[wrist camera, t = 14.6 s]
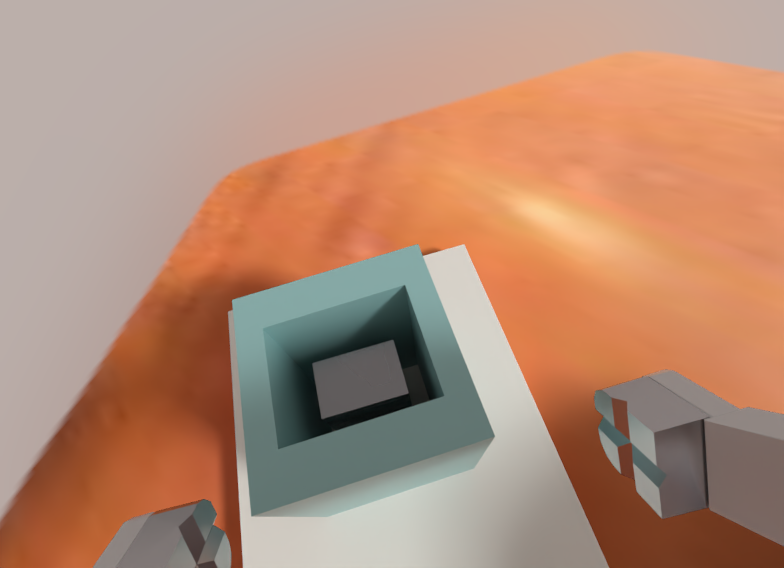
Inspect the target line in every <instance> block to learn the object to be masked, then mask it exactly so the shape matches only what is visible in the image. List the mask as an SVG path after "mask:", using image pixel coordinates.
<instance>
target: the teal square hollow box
mask: <svg viewBox="0 0 784 568" xmlns="http://www.w3.org/2000/svg"><path fill="white" fill-rule="evenodd" d="M232 305H233V317H234V328H235V339H236V350H237V362H238V373H239V384H240V395H241V407H242V418H243V429H244V440H245V452H246V463H247V474H248V485H249V497H250V508H251V517H329V516H332V515H335V514H338V513H341V512H344V511H347V510H350V509H353V508H356V507H359V506H362V505H365V504H368V503H371V502H374V501H377V500H380V499H383V498H386V497H389V496H392V495H395V494H398V493H401V492H404V491H407V490H410V489H413V488H416V487H419V486H422V485H425V484H428V483H431V482H434V481H437V480H440V479H443V478H446V477H449V476H452V475H455V474H459V473H462V472H465V471H468V470H471V469H474V468H475V466H476V465H477V463H478V462H479V460H480V459H481V457H482V456H483V454H484V453H485V451H486V450H487V448H488V447H489V445H490V444H491V442H492V440H493V439H494V437H495V435H494V432H493V430H492V427H491V425H490V422H489V420H488V417H487V415H486V412H485V410H484V407H483V405H482V402H481V400H480V397H479V395H478V392H477V390H476V387H475V385H474V383H473V380H472V378H471V375H470V373H469V370H468V368H467V365H466V363H465V360H464V358H463V355H462V353H461V350H460V348H459V345H458V343H457V340H456V338H455V335H454V333H453V330H452V328H451V325H450V323H449V320H448V318H447V315H446V313H445V310H444V308H443V305H442V303H441V300H440V298H439V295H438V293H437V290H436V288H435V285H434V283H433V280H432V278H431V275H430V273H429V270H428V268H427V265H426V263H425V260H424V258H423V255H422V253H421V250H420V248H419V245H418V244H417V245H413V246H410V247H407V248H403V249H400V250H397V251H393V252H390V253H387V254H383V255H380V256H377V257H373V258H370V259H367V260H363V261H360V262H357V263H353V264H350V265H347V266H343V267H340V268H337V269H333V270H330V271H327V272H323V273H320V274H317V275H313V276H310V277H307V278H303V279H300V280H297V281H293V282H290V283H287V284H284V285H280V286H277V287H274V288H270V289H267V290H264V291H260V292H257V293H254V294H250V295H247V296H244V297H240V298H237V299H234V300H232ZM390 340H394V344H395V347H396V351H397V354H398V357H399V361H400V364H401V368H402V369H405V368H408V367H411V366H414V365H418V367H419V370H420V373H421V376H422V379H423V382H424V385H425V388H426V391H427V394H428V397H429V400H430V401H427V402H424V403H421V404H418V405H415V406H412V407H409V408H405V409H402V410H399V411H396V412H393V413H390V414H387V415H384V416H381V417H377V418H374V419H371V420H368V421H365V422H362V423H359V424H356V425H352V426H349V427H346V428H343V429H340V430H337V431H334V432H332V427H331V426H329V425H328V424H327V423H326V422H324V421H323V420H322V419H321V413H320V407H319V401H318V395H317V389H316V383H315V377H314V371H313V365H312V363H315V362H318V361H322V360H325V359H328V358H332V357H335V356H339V355H342V354H346V353H349V352H352V351H356V350H359V349H363V348H366V347H370V346H373V345H376V344H380V343H383V342H387V341H390Z"/></svg>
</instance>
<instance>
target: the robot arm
mask: <svg viewBox="0 0 784 568" xmlns="http://www.w3.org/2000/svg"><path fill="white" fill-rule="evenodd" d="M594 400H595V409H596V410H597V411H598V412H600V413H601V414H602V415H603V416H604V417H603V419H602V421H601V423H600V425H599V427H598V430H599V435H600V441H601V444H602V446H603V448H604V451H605V453H606V455H607V457H608V458H609V460H610V461H611V463H612V465H613V466H614V467H615V468H616V469H617V470H618V471H619V473H620V474H621V475H624V476H626V477H629V478H631V479H634V480H635V484H636V491H637V492H638V493H639V495H640V496H641V497H642V498H643V499H644V500H645V501H646V502H647V503H648V504H649V505H650V506H651V508H652V509H653V510H654V511H655V512H656V513H657V514H658V515H659V516H660V517H661V518H662V519H665V518H669V517H673V516H676V515H680V514H684V513H688V512H692V511H696V510H700V509H704V508H708V507H709V510H711V511H713V512H715V513H717V514H719V515H721V516H723V517H725V518H727V519H729V520H731V521H733V522H735V523H737V524H739V525H741V526H743V527H745V528H747V529H749V530H751V531H753V532H755V533H757V534H759V535H761V536H763V537H766V538H768V539H770V540H772V541H774V542H776V543H778V544H780V545H782V546H784V414H779V413H774V412H770V411H765V410H760V409H755V408H750V407H747V408H743V409H739V408H737V407H735V406H734V405H732V404H730V403H728V402H727V401H725V400H723V399H722V398H720V397H718V396H716V395H715V394H713V393H711V392H710V391H708V390H706V389H704V388H703V387H701V386H699V385H698V384H696V383H694V382H692V381H691V380H689V379H687V378H686V377H684V376H682V375H680V374H679V373H677V372H675V371H673V370H668V369H665V370H661V371H658V372H655V373H652V374H649V375H645V376H642V377H641V378H638V379H634V380H631V381H628V382H624V383H621V384H617V385H614V386H610V387H607V388H603V389H600V390H596V391H595V396H594ZM216 516H217V513H216V511H215V509H214V508H213V506H212V504H211V502H210V501H208V500H205V499H202V500H198V501H194V502H190V503H186V504H182V505H178V506H174V507H170V508H166V509H162V510H159V511H156V512H151V513H147V514H144V515H140V516H137V517H133V518H131V519H129V520H128V521H126V522H124V523H123V525H122V526H121V528H120V529H119V531H118V532H117V533H116V535H115V536H114V538H113V539H112V541H111V542H110V543H109V545H108V546H107V548H106V549H105V551H104V552H103V554H102V555H101V556H100V558H99V559H98V561H97V562H96V564H95V565H94V566H93V568H231V549H230V544H229V540H228V538H227V536H226V533H225V532H224V531H223V530H221V529H219V528H218V527H216V526H214V522H215V519H216Z"/></svg>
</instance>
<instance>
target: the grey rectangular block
mask: <svg viewBox="0 0 784 568" xmlns="http://www.w3.org/2000/svg"><path fill="white" fill-rule="evenodd" d="M312 365H313V371H314V377H315V383H316V389H317V395H318V401H319V407H320V413H321V419H322V420H323V421H324V422H326V423H327V424H328V425H329V426H331V427H332V428H333V429H334V430H335V431H337V430H340V429H343V428H346V427H349V426H352V425H356V424H359V423H362V422H365V421H368V420H371V419H374V418H377V417H381V416H384V415H387V414H390V413H393V412H396V411H399V410H402V409H405V408H409V407H412V403H411V399H410V396H409V392H408V389H407V385H406V382H405V378H404V375H403V371H402V368H401V364H400V361H399V357H398V354H397V351H396V347H395V344H394V340H390V341H387V342H383V343H380V344H376V345H373V346H370V347H366V348H363V349H359V350H356V351H352V352H349V353H346V354H342V355H339V356H335V357H332V358H328V359H325V360H322V361H318V362H315V363H312Z"/></svg>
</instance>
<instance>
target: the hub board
mask: <svg viewBox="0 0 784 568" xmlns="http://www.w3.org/2000/svg"><path fill="white" fill-rule="evenodd" d="M423 258H424V260H425V263H426V265H427V268H428V270H429V273H430V275H431V278H432V280H433V283H434V285H435V288H436V290H437V293H438V295H439V298H440V300H441V303H442V305H443V308H444V310H445V313H446V315H447V318H448V320H449V323H450V325H451V328H452V330H453V333H454V335H455V338H456V340H457V343H458V345H459V348H460V350H461V353H462V355H463V358H464V360H465V363H466V365H467V368H468V370H469V373H470V375H471V378H472V380H473V383H474V385H475V387H476V390H477V392H478V395H479V397H480V400H481V402H482V405H483V407H484V410H485V412H486V415H487V417H488V420H489V422H490V425H491V427H492V430H493V432H494V435H495V437H494V439H493V440H492V442H491V444H490V445H489V447H488V448H487V450H486V451H485V453H484V454H483V456H482V457H481V459H480V460H479V462H478V463H477V465H476V466H475V468H474V469H471V470H468V471H465V472H462V473H459V474H455V475H452V476H449V477H446V478H443V479H440V480H437V481H434V482H431V483H428V484H425V485H422V486H419V487H416V488H413V489H410V490H407V491H404V492H401V493H398V494H395V495H392V496H389V497H386V498H383V499H380V500H377V501H374V502H371V503H368V504H365V505H362V506H359V507H356V508H353V509H350V510H347V511H344V512H341V513H338V514H335V515H332V516H329V517H251V508H250V497H249V485H248V474H247V463H246V452H245V440H244V429H243V418H242V407H241V395H240V384H239V373H238V362H237V350H236V339H235V328H234V317H233V310H231V311H228V319H229V336H230V353H231V370H232V387H233V404H234V421H235V438H236V456H237V473H238V490H239V507H240V524H241V541H242V558H243V568H609V566H608V564H607V562H606V559H605V557H604V555H603V553H602V550H601V548H600V546H599V544H598V541H597V539H596V537H595V535H594V533H593V530H592V528H591V526H590V524H589V521H588V519H587V517H586V515H585V513H584V510H583V508H582V506H581V504H580V501H579V499H578V497H577V495H576V492H575V490H574V488H573V486H572V484H571V481H570V479H569V477H568V475H567V472H566V470H565V468H564V466H563V463H562V461H561V459H560V457H559V455H558V452H557V450H556V448H555V446H554V443H553V441H552V439H551V437H550V435H549V432H548V430H547V428H546V426H545V423H544V421H543V419H542V417H541V414H540V412H539V410H538V408H537V406H536V403H535V401H534V399H533V397H532V394H531V392H530V390H529V388H528V386H527V383H526V381H525V379H524V377H523V374H522V372H521V370H520V368H519V365H518V363H517V361H516V359H515V357H514V354H513V352H512V350H511V348H510V345H509V343H508V341H507V339H506V337H505V334H504V332H503V330H502V328H501V325H500V323H499V321H498V319H497V316H496V314H495V312H494V310H493V308H492V305H491V303H490V301H489V299H488V296H487V294H486V292H485V290H484V287H483V285H482V283H481V281H480V279H479V276H478V274H477V272H476V270H475V267H474V265H473V263H472V261H471V259H470V256H469V254H468V252H467V250H466V247H465V245H460V246H457V247H453V248H449V249H446V250H442V251H439V252H435V253H432V254H428V255H425V256H423ZM402 371H403V375H404V378H405V382H406V385H407V389H408V392H409V396H410V399H411V403H412V406H415V405H418V404H421V403H424V402H427V401H430V400H429V397H428V394H427V391H426V388H425V385H424V382H423V379H422V376H421V373H420V370H419V367H418V365H414V366H411V367H408V368H405V369H402ZM334 431H335V430H334V429H333V428H332V432H334Z"/></svg>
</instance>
